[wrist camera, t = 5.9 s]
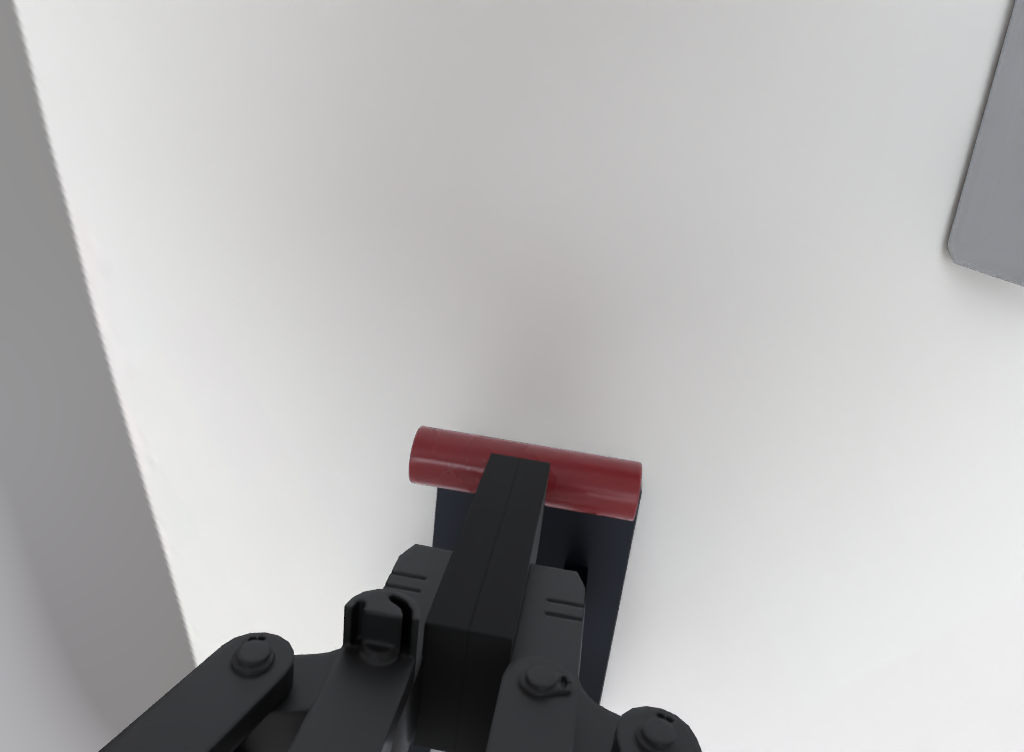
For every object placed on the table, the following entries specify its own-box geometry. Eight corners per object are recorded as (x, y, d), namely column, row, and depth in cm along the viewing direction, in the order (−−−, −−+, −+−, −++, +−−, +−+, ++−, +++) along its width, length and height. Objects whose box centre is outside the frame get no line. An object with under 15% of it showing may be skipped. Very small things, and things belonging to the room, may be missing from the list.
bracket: (446, 444, 31) (298, 723, 17) (641, 477, 30) (650, 796, 16) (426, 674, 35) (294, 1043, 21) (596, 708, 34) (573, 1113, 21)
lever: (429, 422, 22) (410, 430, 19) (638, 457, 21) (645, 469, 19) (363, 864, 22) (335, 925, 20) (565, 910, 22) (562, 979, 19)
